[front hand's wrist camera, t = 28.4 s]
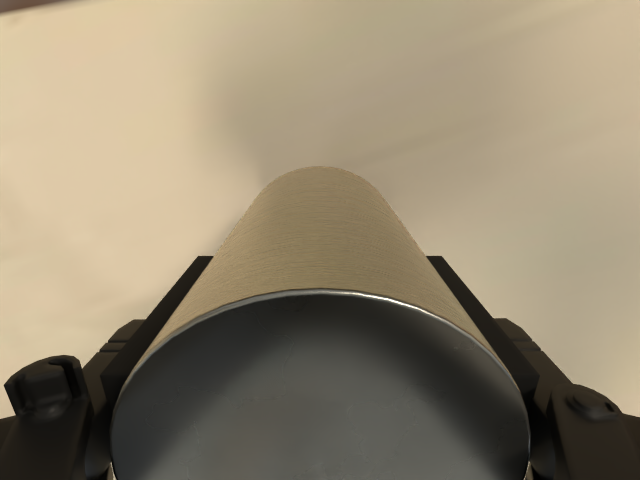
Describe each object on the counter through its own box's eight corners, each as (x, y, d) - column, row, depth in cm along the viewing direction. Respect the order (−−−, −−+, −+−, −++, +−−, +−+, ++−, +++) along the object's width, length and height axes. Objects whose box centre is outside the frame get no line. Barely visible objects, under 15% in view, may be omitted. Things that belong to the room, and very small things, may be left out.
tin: (217, 268, 19) (55, 522, 7) (289, 134, 16) (214, 194, 5) (344, 331, 20) (377, 628, 9) (427, 217, 18) (628, 417, 6)
